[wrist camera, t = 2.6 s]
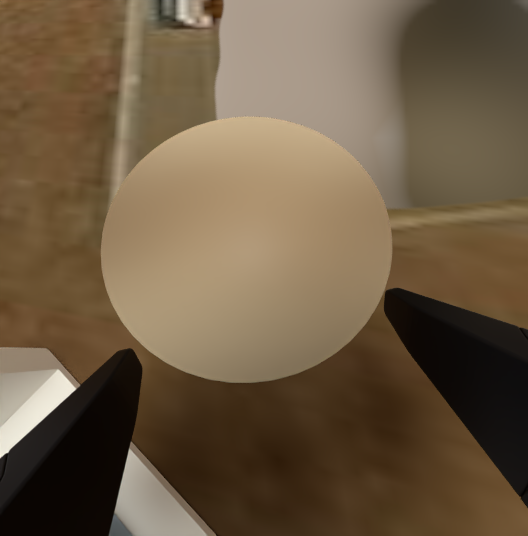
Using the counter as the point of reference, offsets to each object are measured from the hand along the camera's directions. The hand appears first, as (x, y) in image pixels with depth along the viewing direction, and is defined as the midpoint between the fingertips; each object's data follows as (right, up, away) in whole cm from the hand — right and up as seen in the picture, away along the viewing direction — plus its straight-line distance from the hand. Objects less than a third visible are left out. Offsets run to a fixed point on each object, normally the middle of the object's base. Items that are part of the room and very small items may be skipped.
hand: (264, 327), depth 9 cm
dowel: (0, -2, +9) cm, 9 cm away
